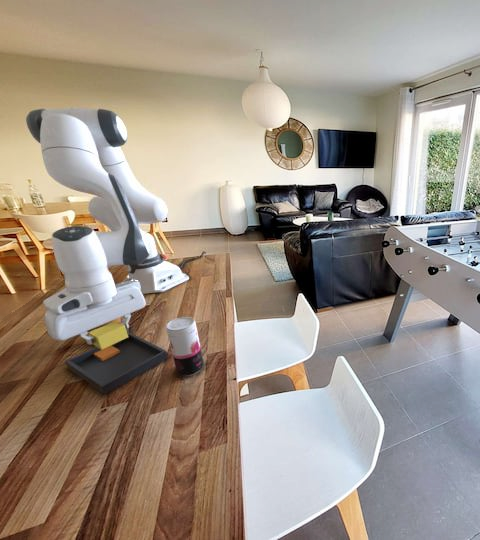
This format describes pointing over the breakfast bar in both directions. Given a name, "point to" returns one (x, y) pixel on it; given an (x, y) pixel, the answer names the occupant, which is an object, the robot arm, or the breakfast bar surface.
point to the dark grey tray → (117, 363)
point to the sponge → (109, 334)
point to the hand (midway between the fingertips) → (109, 335)
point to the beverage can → (185, 346)
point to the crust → (106, 353)
